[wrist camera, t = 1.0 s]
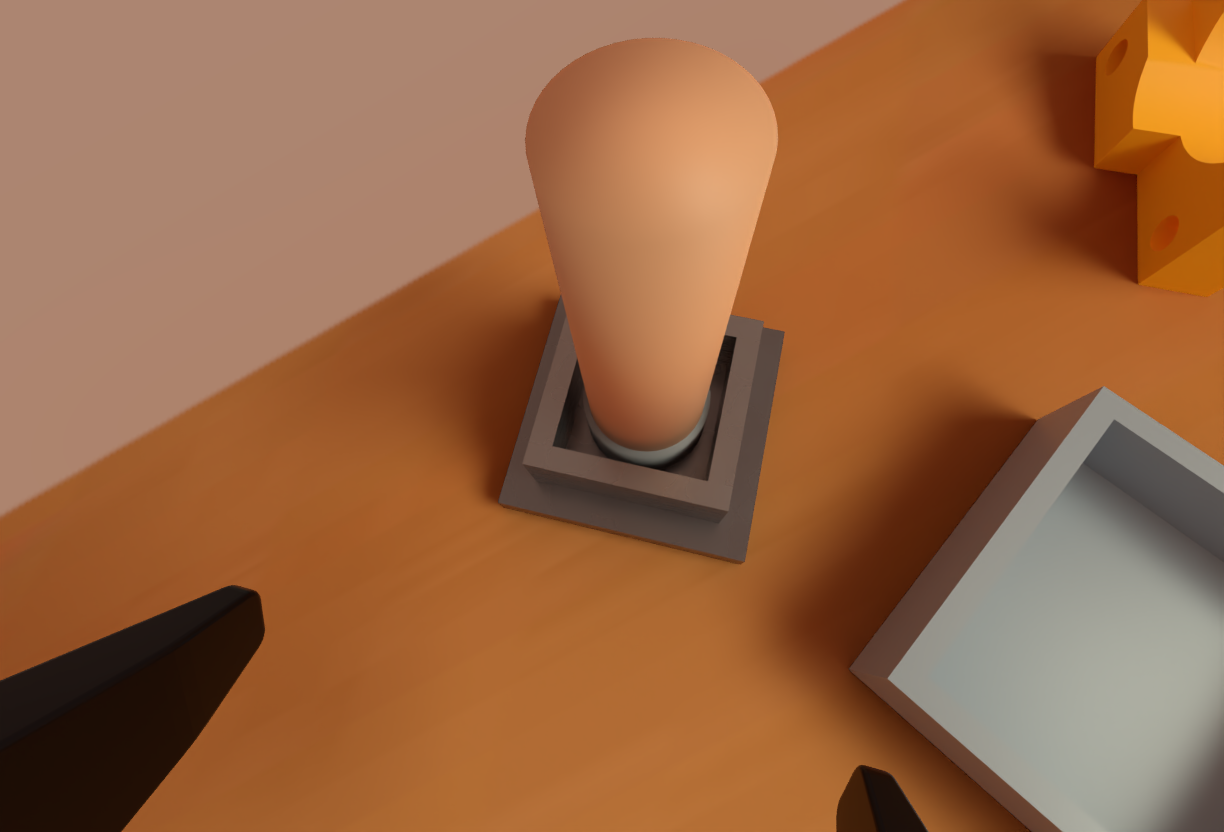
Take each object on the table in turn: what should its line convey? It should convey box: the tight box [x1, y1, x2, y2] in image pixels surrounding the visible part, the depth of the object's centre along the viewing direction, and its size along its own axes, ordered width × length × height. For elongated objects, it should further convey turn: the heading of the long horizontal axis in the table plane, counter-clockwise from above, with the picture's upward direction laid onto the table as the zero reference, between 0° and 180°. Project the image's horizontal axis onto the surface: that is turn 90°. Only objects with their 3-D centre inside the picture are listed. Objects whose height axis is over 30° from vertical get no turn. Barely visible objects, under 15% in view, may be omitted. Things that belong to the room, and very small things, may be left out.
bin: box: [849, 386, 1224, 832], centre depth 19 cm, size 12×12×4 cm
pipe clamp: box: [1094, 0, 1224, 297], centre depth 24 cm, size 12×4×6 cm, turn 166°
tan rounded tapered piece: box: [525, 38, 778, 470], centre depth 16 cm, size 4×4×14 cm
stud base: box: [498, 295, 785, 564], centre depth 22 cm, size 9×9×4 cm
